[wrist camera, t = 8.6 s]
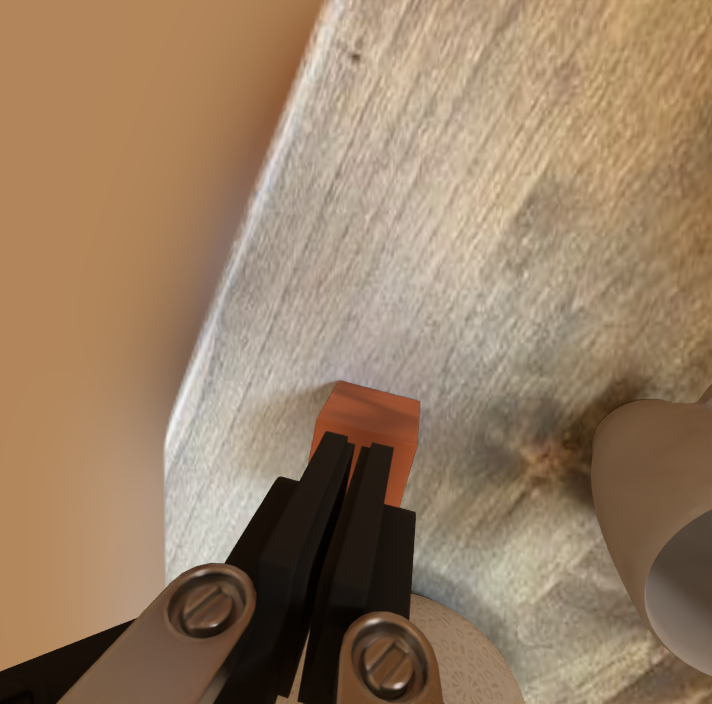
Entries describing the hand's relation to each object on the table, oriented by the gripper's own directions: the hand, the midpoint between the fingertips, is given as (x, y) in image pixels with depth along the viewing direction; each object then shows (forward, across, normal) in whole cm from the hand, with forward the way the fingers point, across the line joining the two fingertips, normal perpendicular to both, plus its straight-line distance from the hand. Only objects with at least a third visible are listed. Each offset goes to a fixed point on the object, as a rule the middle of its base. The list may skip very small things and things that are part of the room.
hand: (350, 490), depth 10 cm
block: (+14, +1, +6) cm, 15 cm away
